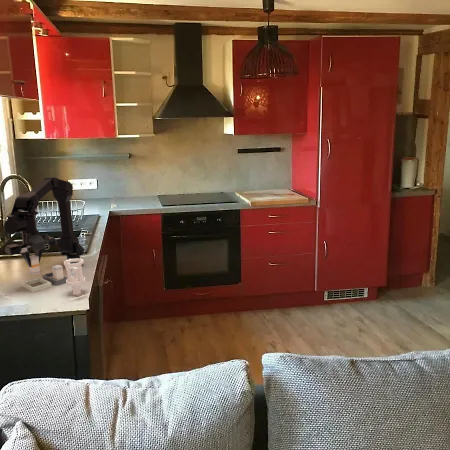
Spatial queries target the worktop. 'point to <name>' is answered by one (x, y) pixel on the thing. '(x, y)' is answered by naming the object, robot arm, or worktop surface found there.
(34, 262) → the marked fuse
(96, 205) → the worktop surface
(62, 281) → the fuse board
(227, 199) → the worktop surface
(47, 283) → the tray
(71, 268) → the white tall plastic piece
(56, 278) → the block
